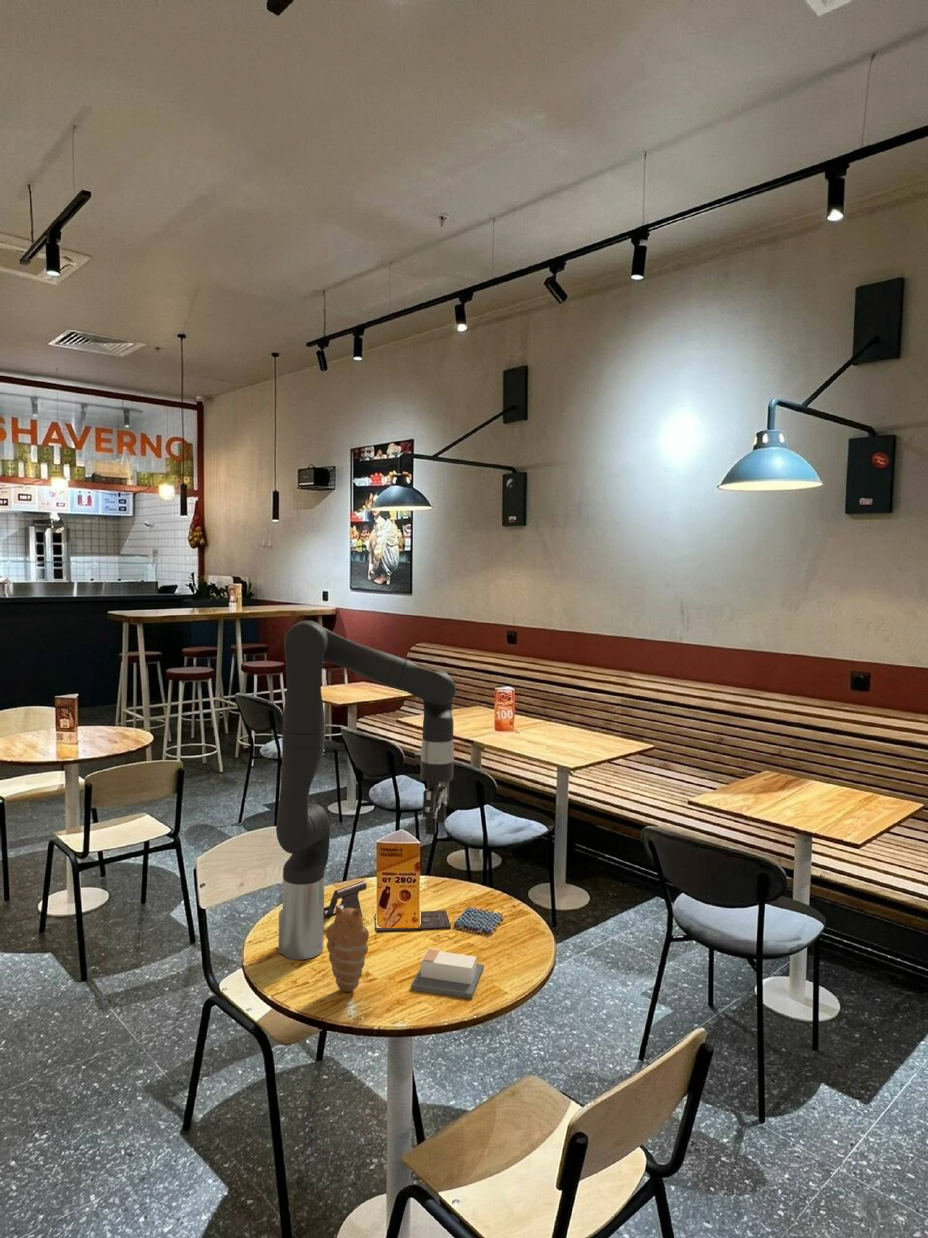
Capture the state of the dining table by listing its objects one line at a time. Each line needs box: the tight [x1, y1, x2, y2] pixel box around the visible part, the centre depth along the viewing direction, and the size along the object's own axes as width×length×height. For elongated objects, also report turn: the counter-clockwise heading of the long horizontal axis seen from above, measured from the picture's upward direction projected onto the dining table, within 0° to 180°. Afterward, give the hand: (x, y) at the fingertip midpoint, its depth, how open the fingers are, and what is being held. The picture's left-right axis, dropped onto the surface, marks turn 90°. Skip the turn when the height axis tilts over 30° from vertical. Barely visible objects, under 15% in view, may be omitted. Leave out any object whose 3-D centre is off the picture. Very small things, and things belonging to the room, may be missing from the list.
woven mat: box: [453, 906, 505, 937], centre depth 190 cm, size 10×11×2 cm
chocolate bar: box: [374, 910, 452, 934], centre depth 190 cm, size 9×1×18 cm
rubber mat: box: [410, 963, 485, 999], centre depth 164 cm, size 13×12×1 cm
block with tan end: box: [420, 948, 478, 984], centre depth 164 cm, size 11×5×4 cm, turn 77°
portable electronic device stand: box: [324, 880, 368, 918], centre depth 193 cm, size 9×8×8 cm
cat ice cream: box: [325, 905, 370, 993], centre depth 158 cm, size 9×8×18 cm
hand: (435, 827), depth 177 cm, fingers open, 8 cm apart
